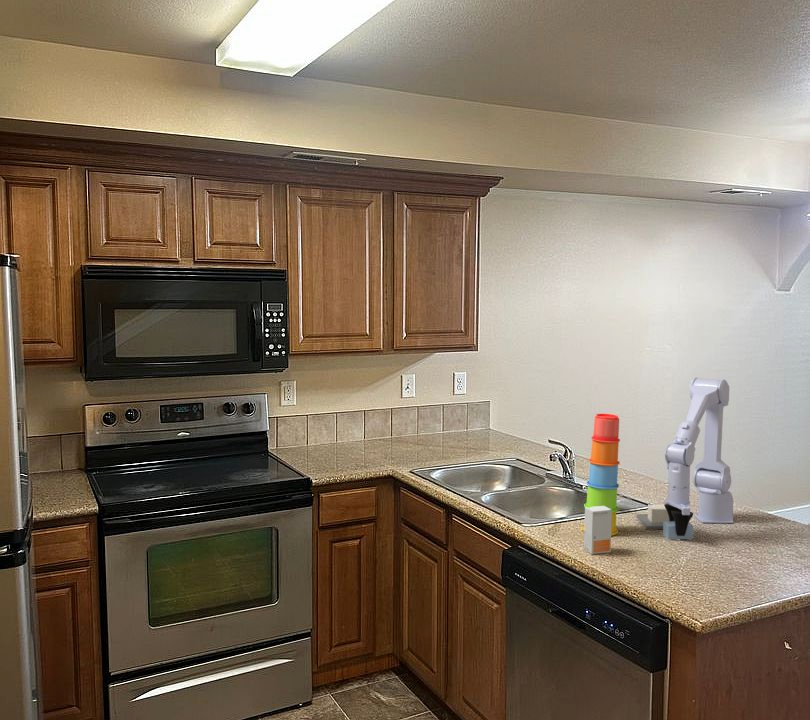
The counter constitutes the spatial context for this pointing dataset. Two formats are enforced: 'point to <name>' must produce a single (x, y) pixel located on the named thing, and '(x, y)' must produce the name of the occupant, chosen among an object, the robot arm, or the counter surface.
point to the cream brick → (657, 513)
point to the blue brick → (670, 531)
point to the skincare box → (597, 529)
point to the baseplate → (649, 522)
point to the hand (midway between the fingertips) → (677, 532)
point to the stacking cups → (604, 466)
